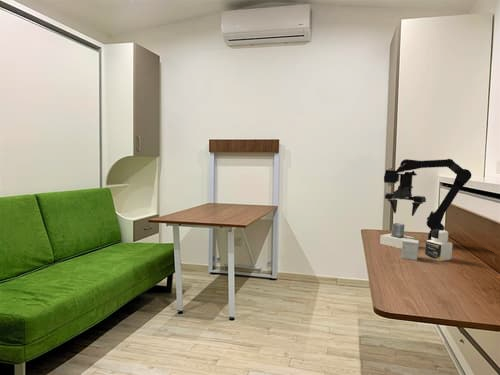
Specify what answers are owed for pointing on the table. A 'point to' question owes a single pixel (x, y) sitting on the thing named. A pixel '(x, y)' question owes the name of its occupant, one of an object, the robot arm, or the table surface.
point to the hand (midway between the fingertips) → (403, 214)
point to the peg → (397, 230)
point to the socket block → (393, 240)
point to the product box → (410, 249)
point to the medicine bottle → (438, 246)
